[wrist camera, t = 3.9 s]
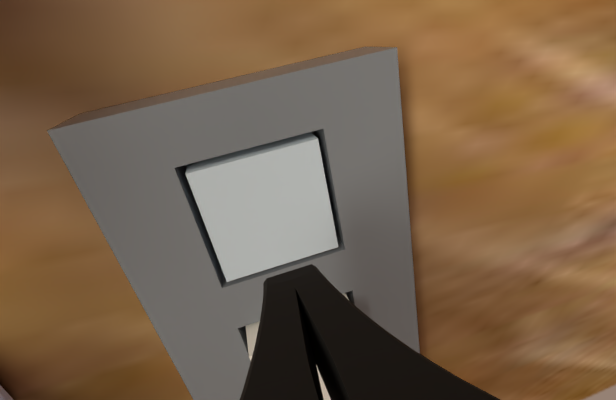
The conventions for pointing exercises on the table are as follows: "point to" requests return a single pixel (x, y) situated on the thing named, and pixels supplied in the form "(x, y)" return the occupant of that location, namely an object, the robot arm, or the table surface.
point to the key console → (190, 226)
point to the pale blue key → (265, 204)
